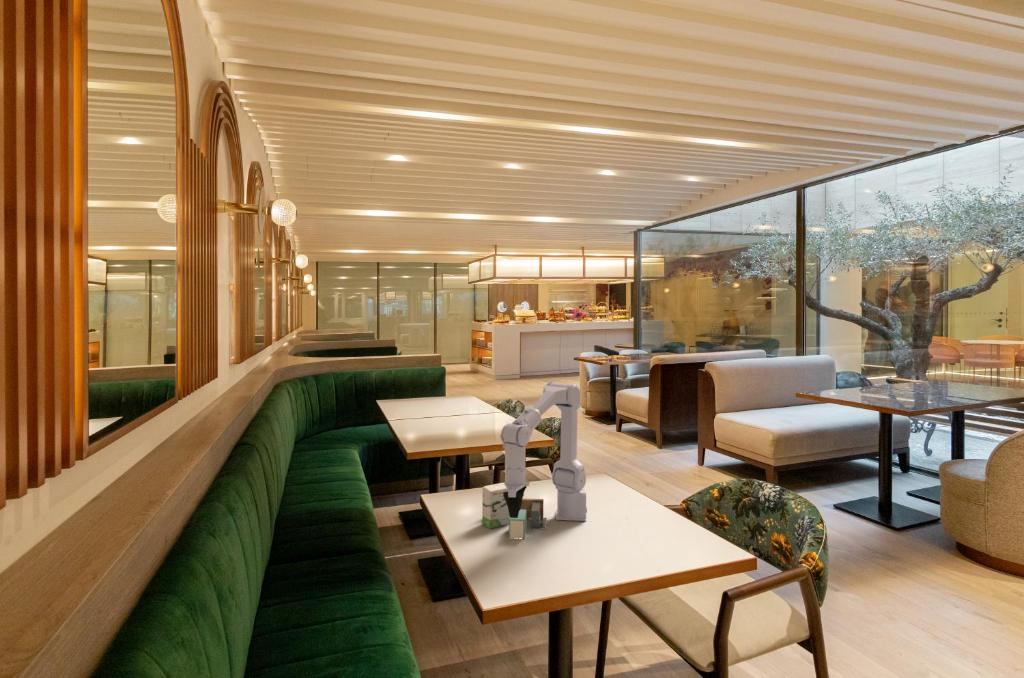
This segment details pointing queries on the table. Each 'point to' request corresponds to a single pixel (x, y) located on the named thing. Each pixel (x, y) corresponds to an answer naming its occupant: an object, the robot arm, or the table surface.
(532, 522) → the bookend
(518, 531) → the book
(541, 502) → the back board
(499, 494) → the ink box
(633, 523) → the table surface
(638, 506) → the table surface
